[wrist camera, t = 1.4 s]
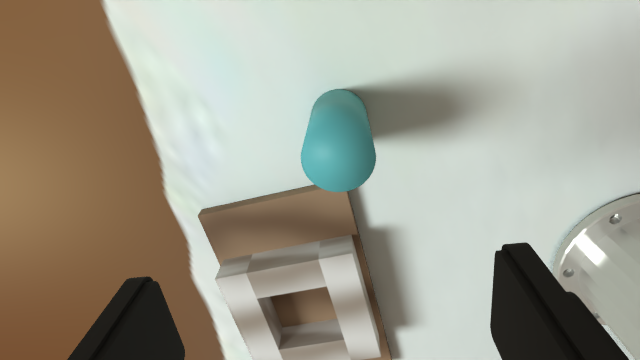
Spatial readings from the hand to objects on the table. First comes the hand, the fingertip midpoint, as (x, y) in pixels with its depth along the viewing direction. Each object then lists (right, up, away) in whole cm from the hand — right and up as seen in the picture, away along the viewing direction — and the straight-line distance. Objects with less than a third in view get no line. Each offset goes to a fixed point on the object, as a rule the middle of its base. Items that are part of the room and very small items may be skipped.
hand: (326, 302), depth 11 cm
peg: (+1, +8, +17) cm, 19 cm away
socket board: (-1, -7, +24) cm, 25 cm away
